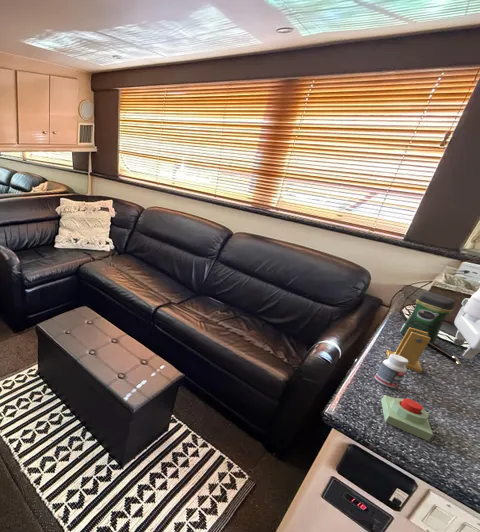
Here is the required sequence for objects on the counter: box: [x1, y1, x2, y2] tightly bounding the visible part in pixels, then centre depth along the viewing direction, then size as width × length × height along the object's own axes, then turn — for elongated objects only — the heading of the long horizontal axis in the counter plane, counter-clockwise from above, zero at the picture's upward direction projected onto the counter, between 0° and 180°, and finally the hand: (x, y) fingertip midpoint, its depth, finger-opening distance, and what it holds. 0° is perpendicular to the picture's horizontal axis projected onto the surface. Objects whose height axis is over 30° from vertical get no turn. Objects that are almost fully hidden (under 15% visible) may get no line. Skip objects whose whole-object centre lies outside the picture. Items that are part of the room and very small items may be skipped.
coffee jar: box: [399, 290, 457, 344], centre depth 120 cm, size 10×8×19 cm
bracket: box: [385, 327, 431, 374], centre depth 104 cm, size 8×7×12 cm
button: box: [400, 397, 424, 414], centre depth 80 cm, size 4×4×2 cm
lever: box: [414, 331, 463, 368], centre depth 101 cm, size 13×5×2 cm, turn 52°
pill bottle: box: [374, 354, 408, 389], centre depth 94 cm, size 5×5×9 cm
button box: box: [380, 394, 434, 442], centre depth 81 cm, size 10×8×4 cm
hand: (461, 350), depth 98 cm, fingers open, 8 cm apart
